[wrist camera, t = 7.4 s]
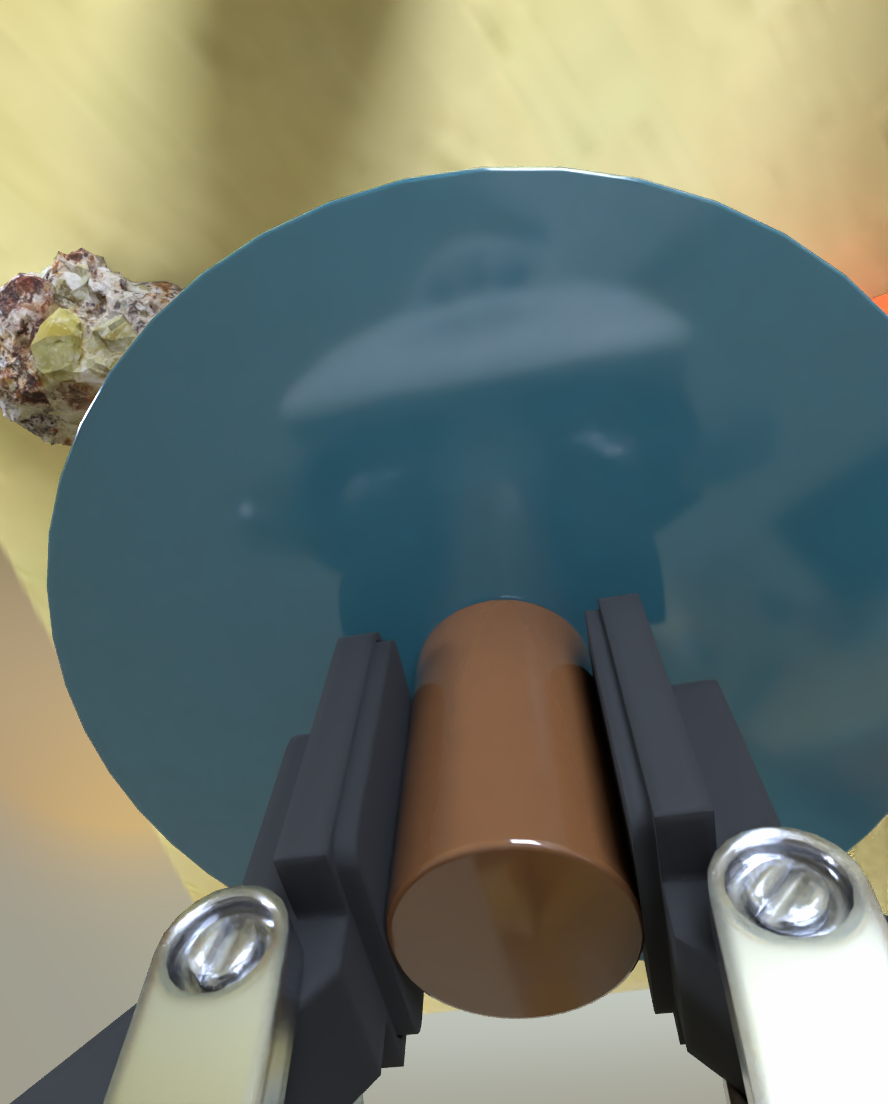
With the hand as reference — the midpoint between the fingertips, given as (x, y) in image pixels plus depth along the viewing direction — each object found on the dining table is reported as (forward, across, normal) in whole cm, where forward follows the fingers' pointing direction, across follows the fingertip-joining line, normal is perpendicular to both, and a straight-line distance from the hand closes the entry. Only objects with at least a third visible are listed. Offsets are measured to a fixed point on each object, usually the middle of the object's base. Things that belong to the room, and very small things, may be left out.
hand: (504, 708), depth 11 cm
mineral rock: (+22, +14, -2) cm, 26 cm away
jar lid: (+1, 0, 0) cm, 1 cm away
